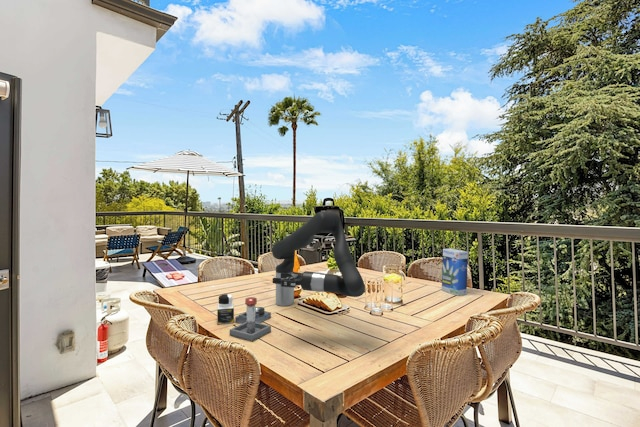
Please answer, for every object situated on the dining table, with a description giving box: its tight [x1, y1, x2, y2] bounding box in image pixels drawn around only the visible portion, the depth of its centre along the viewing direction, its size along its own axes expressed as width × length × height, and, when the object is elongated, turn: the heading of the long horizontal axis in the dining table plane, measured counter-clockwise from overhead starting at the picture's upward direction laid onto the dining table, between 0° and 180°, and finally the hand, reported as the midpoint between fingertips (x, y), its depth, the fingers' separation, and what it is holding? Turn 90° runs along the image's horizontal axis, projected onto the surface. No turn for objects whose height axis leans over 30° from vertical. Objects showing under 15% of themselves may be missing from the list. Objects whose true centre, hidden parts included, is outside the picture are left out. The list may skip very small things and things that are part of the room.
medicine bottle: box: [216, 293, 235, 325], centre depth 159 cm, size 7×7×12 cm
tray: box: [229, 322, 272, 343], centre depth 145 cm, size 12×12×2 cm
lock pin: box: [244, 296, 258, 334], centre depth 145 cm, size 5×5×14 cm
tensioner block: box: [234, 306, 272, 325], centre depth 161 cm, size 13×10×5 cm
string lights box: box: [441, 247, 469, 297], centre depth 209 cm, size 13×8×26 cm, turn 25°
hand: (276, 277), depth 144 cm, fingers open, 8 cm apart
